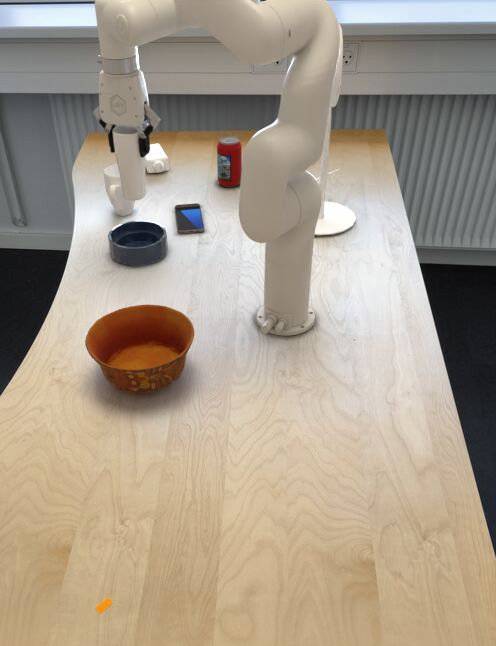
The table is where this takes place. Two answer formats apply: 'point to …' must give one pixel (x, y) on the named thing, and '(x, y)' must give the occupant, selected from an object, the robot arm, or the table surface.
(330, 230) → the desk lamp
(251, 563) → the table surface
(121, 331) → the bowl
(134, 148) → the tall white cup
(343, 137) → the table surface
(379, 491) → the table surface
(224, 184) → the beverage can
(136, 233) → the blue bowl
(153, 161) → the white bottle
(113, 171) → the mug
